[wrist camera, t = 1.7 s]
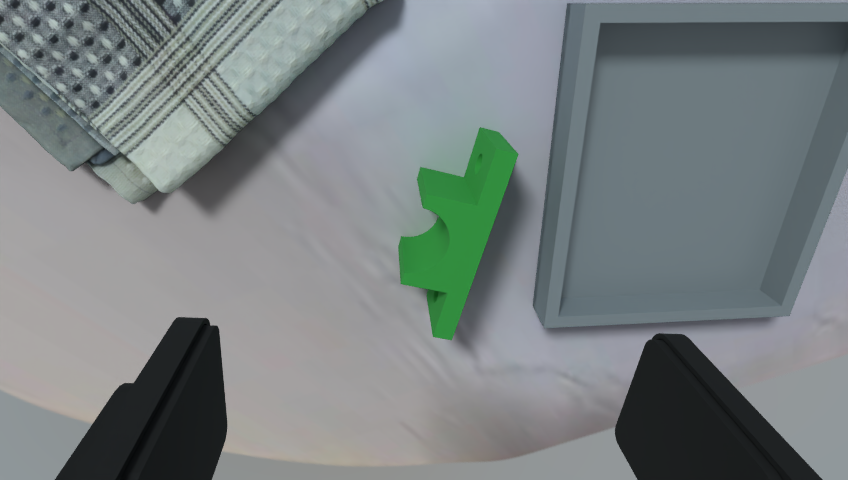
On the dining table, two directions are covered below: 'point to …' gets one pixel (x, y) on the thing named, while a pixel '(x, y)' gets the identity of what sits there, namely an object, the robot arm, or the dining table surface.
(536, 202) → the dining table surface
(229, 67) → the dish towel
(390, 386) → the dining table surface
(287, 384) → the dining table surface
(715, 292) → the tray
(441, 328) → the pipe clamp
